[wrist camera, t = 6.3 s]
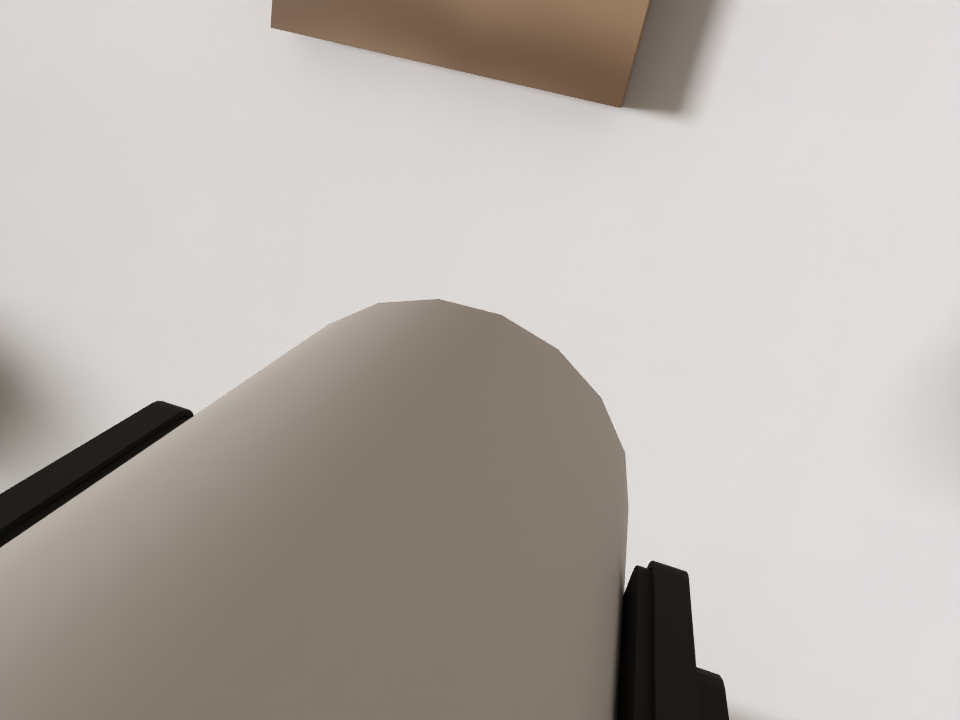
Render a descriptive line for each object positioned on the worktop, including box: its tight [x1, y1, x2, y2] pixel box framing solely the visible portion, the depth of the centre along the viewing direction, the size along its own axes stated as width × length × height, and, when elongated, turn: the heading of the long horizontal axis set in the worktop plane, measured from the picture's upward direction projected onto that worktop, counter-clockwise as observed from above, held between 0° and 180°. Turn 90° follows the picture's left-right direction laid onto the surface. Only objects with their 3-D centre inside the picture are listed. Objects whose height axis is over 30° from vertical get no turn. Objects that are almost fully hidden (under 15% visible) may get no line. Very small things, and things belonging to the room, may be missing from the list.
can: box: [0, 299, 628, 720], centre depth 8 cm, size 8×8×12 cm
